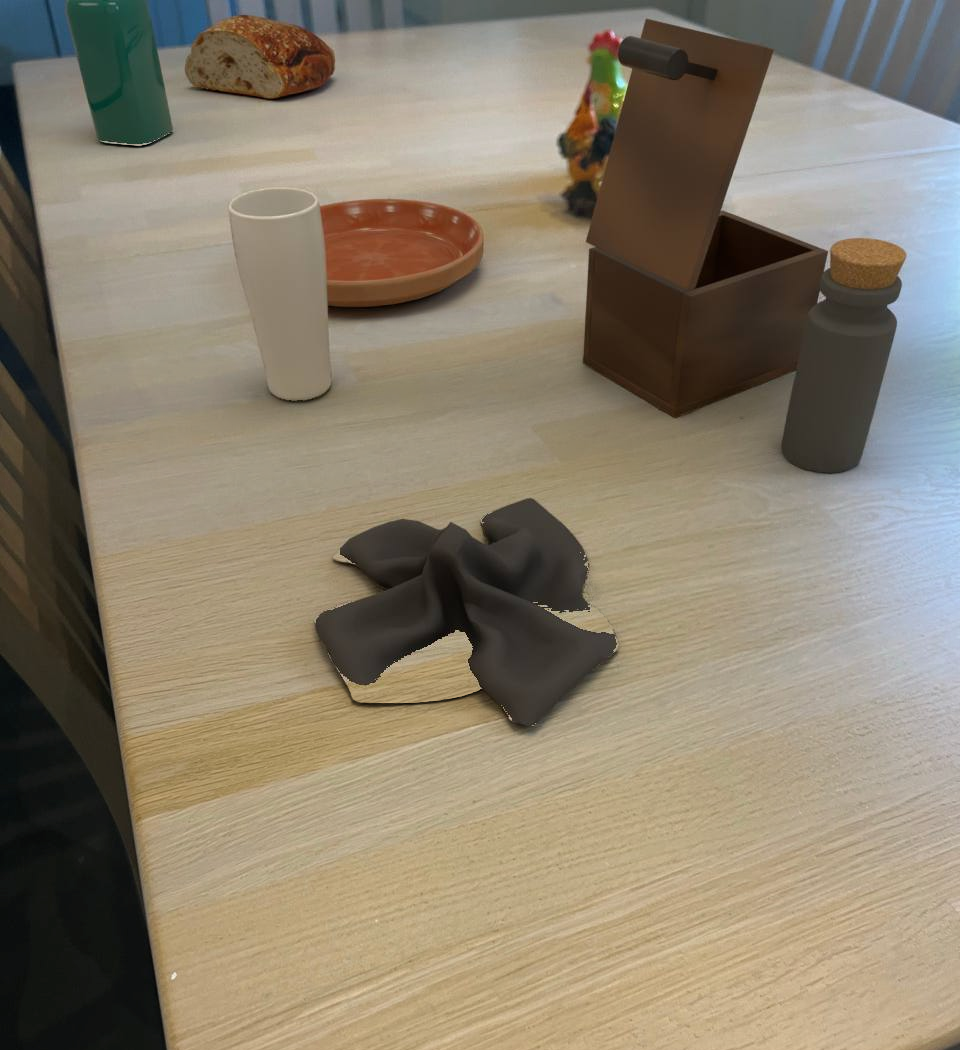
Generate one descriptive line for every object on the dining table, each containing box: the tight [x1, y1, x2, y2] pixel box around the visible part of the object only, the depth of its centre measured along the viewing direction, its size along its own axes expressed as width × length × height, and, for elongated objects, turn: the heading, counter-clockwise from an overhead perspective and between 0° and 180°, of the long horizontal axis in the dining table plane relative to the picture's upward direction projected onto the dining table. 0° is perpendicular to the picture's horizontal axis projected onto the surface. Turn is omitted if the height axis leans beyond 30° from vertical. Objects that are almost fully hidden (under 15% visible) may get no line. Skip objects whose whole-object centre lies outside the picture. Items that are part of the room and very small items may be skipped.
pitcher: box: [64, 0, 174, 144], centre depth 132 cm, size 10×8×22 cm
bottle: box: [780, 237, 907, 474], centre depth 70 cm, size 6×6×15 cm
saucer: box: [319, 198, 485, 308], centre depth 101 cm, size 23×23×4 cm
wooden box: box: [582, 209, 829, 418], centre depth 83 cm, size 15×12×10 cm
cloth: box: [314, 497, 617, 727], centre depth 61 cm, size 22×19×6 cm
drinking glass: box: [227, 186, 333, 402], centre depth 79 cm, size 7×7×15 cm
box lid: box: [585, 18, 775, 290], centre depth 71 cm, size 15×12×6 cm
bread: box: [184, 14, 336, 99], centre depth 156 cm, size 20×18×10 cm
